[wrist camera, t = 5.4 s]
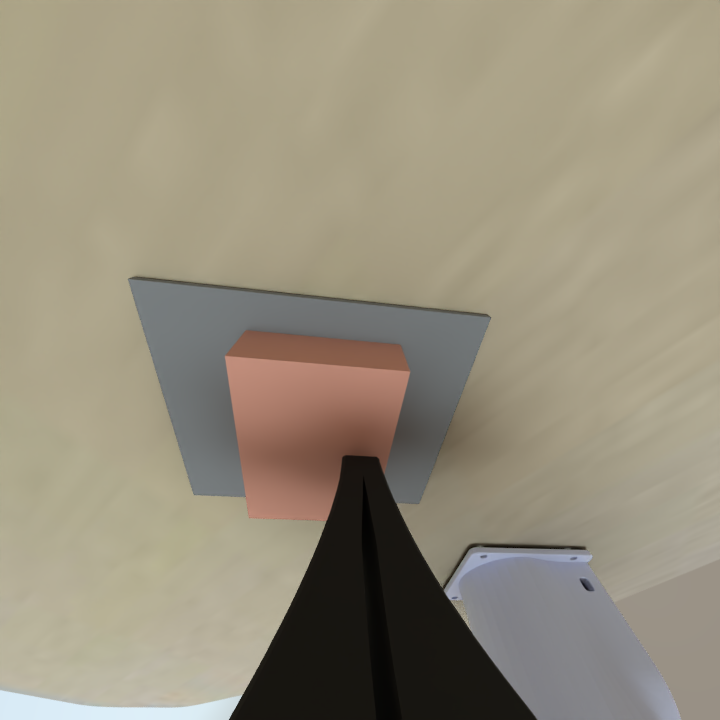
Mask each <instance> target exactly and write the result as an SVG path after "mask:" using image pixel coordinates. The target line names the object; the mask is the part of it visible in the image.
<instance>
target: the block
mask: <svg viewBox="0 0 720 720" xmlns="http://www.w3.org/2000/svg"><path fill="white" fill-rule="evenodd" d="M225 360H226V367H227V374H228V381H229V387H230V394H231V401H232V407H233V414H234V421H235V428H236V434H237V441H238V448H239V455H240V461H241V468H242V475H243V481H244V488H245V495H246V502H247V508H248V515H249V518H260V519H291V520H322V521H327V519H328V516H329V513H330V510H331V507H332V504H333V501H334V497H335V494H336V491H337V487H338V483H339V479H340V471H341V464H342V457H343V456H345V455H354V456H372V457H378V458H379V461H380V464H381V467H382V470H383V473H385V469H386V465H387V462H388V458H389V454H390V450H391V446H392V442H393V438H394V434H395V430H396V426H397V422H398V418H399V414H400V410H401V407H402V403H403V399H404V395H405V391H406V387H407V383H408V379H409V375H410V369H409V367H408V364H407V361H406V358H405V356H404V353H403V350H402V347H401V345H398V344H388V343H377V342H367V341H356V340H345V339H335V338H324V337H313V336H303V335H292V334H282V333H271V332H260V331H250V330H246V331H245V332H244V333H243V334H242V336H241V337H240V338H239V339H238V340H237V342H236V343H235V344H234V345H233V347H232V348H231V349H230V350H229V351H228V353H227V354H226V355H225Z"/></svg>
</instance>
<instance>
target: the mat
mask: <svg viewBox="0 0 720 720" xmlns="http://www.w3.org/2000/svg"><path fill="white" fill-rule="evenodd" d="M128 281H129V284H130V287H131V291H132V294H133V297H134V301H135V304H136V307H137V310H138V314H139V317H140V320H141V324H142V327H143V330H144V333H145V337H146V340H147V343H148V346H149V350H150V353H151V356H152V360H153V363H154V366H155V369H156V373H157V376H158V379H159V383H160V386H161V389H162V392H163V396H164V399H165V402H166V405H167V409H168V412H169V415H170V419H171V422H172V425H173V428H174V432H175V435H176V438H177V442H178V445H179V448H180V451H181V455H182V458H183V461H184V464H185V468H186V471H187V474H188V478H189V481H190V484H191V487H192V491H193V494H194V495H206V496H231V497H246V495H245V488H244V481H243V475H242V468H241V461H240V455H239V448H238V441H237V434H236V428H235V421H234V414H233V407H232V401H231V394H230V387H229V381H228V374H227V367H226V360H225V355H226V354H227V353H228V351H229V350H230V349H231V348H232V347H233V345H234V344H235V343H236V342H237V340H238V339H239V338H240V337H241V336H242V334H243V333H244V332H245V331H246V330H250V331H260V332H271V333H282V334H292V335H303V336H313V337H324V338H335V339H345V340H356V341H367V342H377V343H388V344H398V345H401V347H402V350H403V353H404V356H405V358H406V361H407V364H408V367H409V369H410V375H409V379H408V383H407V387H406V391H405V395H404V399H403V403H402V407H401V410H400V414H399V418H398V422H397V426H396V430H395V434H394V438H393V442H392V446H391V450H390V454H389V458H388V462H387V465H386V469H385V473H384V476H385V478H386V481H387V483H388V486H389V488H390V491H391V493H392V496H393V498H394V500H395V502H396V503H409V504H419V503H420V500H421V498H422V495H423V493H424V490H425V487H426V485H427V482H428V480H429V477H430V474H431V472H432V469H433V467H434V464H435V461H436V459H437V456H438V454H439V451H440V448H441V446H442V443H443V441H444V438H445V436H446V433H447V430H448V428H449V425H450V423H451V420H452V417H453V415H454V412H455V410H456V407H457V404H458V402H459V399H460V397H461V394H462V391H463V389H464V386H465V384H466V381H467V379H468V376H469V373H470V371H471V368H472V366H473V363H474V360H475V358H476V355H477V353H478V350H479V347H480V345H481V342H482V340H483V337H484V335H485V332H486V329H487V327H488V324H489V322H490V319H491V317H489V316H488V315H484V314H474V313H465V312H456V311H447V310H437V309H428V308H419V307H409V306H400V305H391V304H381V303H372V302H363V301H354V300H344V299H335V298H326V297H316V296H307V295H298V294H288V293H279V292H270V291H261V290H251V289H242V288H233V287H223V286H214V285H205V284H195V283H186V282H177V281H168V280H158V279H149V278H140V277H132V278H129V279H128Z"/></svg>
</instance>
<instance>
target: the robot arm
mask: <svg viewBox="0 0 720 720" xmlns="http://www.w3.org/2000/svg"><path fill="white" fill-rule="evenodd" d="M591 559H592V555H591V553H590V552H589V551H588V550H569V549H529V548H489V547H474V548H471V549H470V550H469V551H468V553H467V554H466V556H465V557H464V559H463V560H462V562H461V564H460V565H459V567H458V568H457V570H456V572H455V573H454V575H453V576H452V578H451V579H450V581H449V583H448V584H447V586H446V587H445V589H444V590H443V589H442V587H441V586H440V584H439V582H438V581H437V579H436V578H435V576H434V574H433V573H432V571H431V569H430V568H429V566H428V564H427V563H426V561H425V559H424V557H423V556H422V554H421V552H420V550H419V548H418V547H417V545H416V543H415V541H414V539H413V537H412V535H411V533H410V531H409V530H408V528H407V526H406V524H405V522H404V520H403V517H402V515H401V513H400V511H399V509H398V507H397V504H396V502H395V500H394V498H393V496H392V493H391V491H390V488H389V486H388V483H387V481H386V478H385V476H384V473H383V470H382V467H381V464H380V461H379V458H378V457H372V456H354V455H345V456H343V457H342V464H341V471H340V479H339V483H338V487H337V491H336V494H335V497H334V501H333V504H332V507H331V510H330V513H329V516H328V519H327V522H326V524H325V527H324V530H323V532H322V535H321V538H320V540H319V543H318V545H317V548H316V550H315V552H314V555H313V557H312V559H311V562H310V564H309V566H308V569H307V571H306V573H305V575H304V577H303V580H302V582H301V584H300V586H299V588H298V590H297V593H296V595H295V597H294V599H293V601H292V603H291V605H290V607H289V609H288V611H287V613H286V615H285V617H284V619H283V621H282V623H281V625H280V627H279V629H278V631H277V633H276V634H275V636H274V638H273V640H272V642H271V644H270V646H269V648H268V650H267V652H266V654H265V656H264V658H263V659H262V661H261V663H260V665H259V667H258V669H257V670H256V672H255V674H254V676H253V678H252V679H251V681H250V683H249V685H248V687H247V688H246V690H245V692H244V694H243V695H242V697H241V699H240V701H239V703H238V705H237V706H236V708H235V710H234V712H233V713H232V715H231V717H230V719H229V720H681V718H680V715H679V712H678V709H677V706H676V703H675V701H674V699H673V696H672V694H671V692H670V690H669V688H668V686H667V684H666V683H665V680H664V679H663V677H662V675H661V673H660V672H659V670H658V669H657V667H656V665H655V664H654V663H653V661H652V659H651V658H650V656H649V655H648V653H647V652H646V650H645V649H644V647H643V646H642V644H641V643H640V641H639V640H638V638H637V637H636V636H635V634H634V632H633V631H632V629H631V628H630V626H629V625H628V623H627V622H626V620H625V619H624V617H623V616H622V614H621V613H620V611H619V610H618V608H617V607H616V605H615V604H614V602H613V601H612V599H611V598H610V596H609V595H608V593H607V592H606V590H605V589H604V587H603V586H602V584H601V582H600V581H599V579H598V578H597V576H596V575H595V573H594V572H593V570H592V569H591V567H590V566H589V564H588V562H589V561H590V560H591ZM450 600H463V603H464V607H465V610H466V614H467V617H468V621H469V624H470V628H471V630H470V629H469V628H468V626H467V625H466V623H465V622H464V620H463V619H462V617H461V616H460V614H459V613H458V611H457V610H456V608H455V607H454V606H453V604H452V603H451V601H450ZM471 631H472V632H471Z"/></svg>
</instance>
